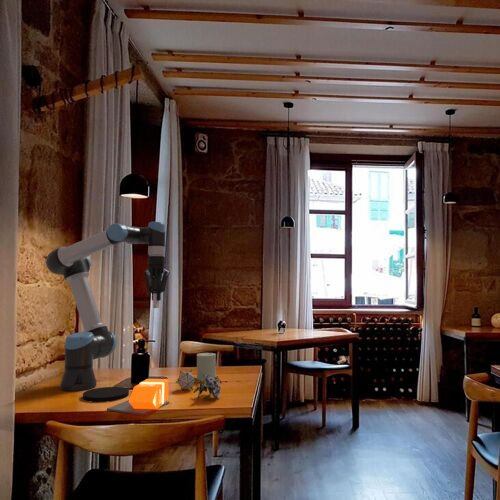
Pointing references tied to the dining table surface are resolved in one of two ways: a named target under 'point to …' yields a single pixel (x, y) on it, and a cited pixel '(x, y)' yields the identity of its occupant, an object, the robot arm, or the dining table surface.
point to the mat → (128, 408)
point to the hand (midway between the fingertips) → (156, 307)
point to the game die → (186, 380)
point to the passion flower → (209, 386)
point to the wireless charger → (105, 394)
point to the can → (206, 365)
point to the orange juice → (149, 394)
